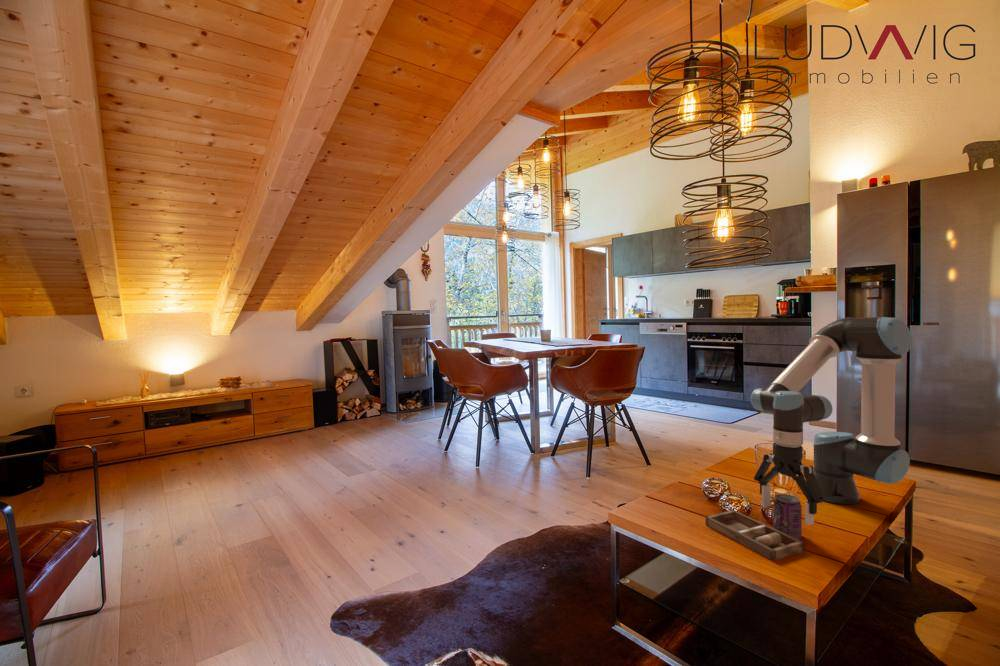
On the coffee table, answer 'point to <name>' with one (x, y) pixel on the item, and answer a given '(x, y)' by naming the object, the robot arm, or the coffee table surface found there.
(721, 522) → the tray
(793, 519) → the beverage can
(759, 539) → the grey oblong lump
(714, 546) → the coffee table surface
